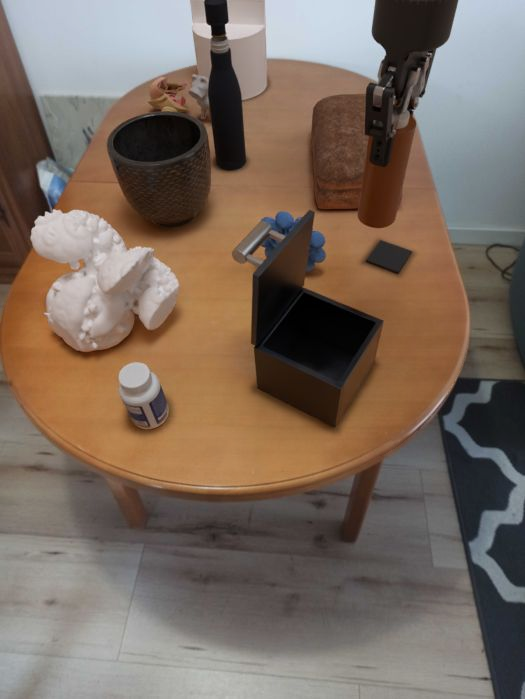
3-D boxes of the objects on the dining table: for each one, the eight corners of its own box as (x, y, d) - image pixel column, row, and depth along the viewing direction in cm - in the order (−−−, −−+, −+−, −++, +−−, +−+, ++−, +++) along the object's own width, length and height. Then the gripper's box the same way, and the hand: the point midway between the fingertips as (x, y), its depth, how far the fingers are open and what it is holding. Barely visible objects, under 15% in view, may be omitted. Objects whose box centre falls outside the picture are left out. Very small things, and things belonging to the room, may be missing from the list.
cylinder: (208, 67, 136) (193, -64, 113) (272, 70, 133) (269, -63, 111) (192, 99, 125) (172, -38, 103) (261, 103, 123) (255, -37, 101)
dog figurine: (188, 125, 118) (180, 78, 110) (222, 102, 124) (217, 55, 116) (205, 132, 116) (199, 84, 108) (239, 107, 122) (235, 61, 114)
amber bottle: (401, 211, 67) (424, 108, 56) (386, 232, 65) (408, 129, 54) (366, 199, 69) (382, 97, 58) (351, 220, 67) (364, 118, 55)
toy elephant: (191, 124, 119) (159, 104, 112) (165, 134, 126) (133, 116, 119) (197, 87, 120) (165, 65, 113) (170, 99, 127) (138, 79, 119)
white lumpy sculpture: (-16, 308, 72) (51, 186, 72) (75, 332, 91) (129, 236, 90) (75, 373, 66) (150, 240, 65) (153, 385, 85) (211, 282, 84)
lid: (315, 211, 60) (273, 193, 62) (258, 276, 54) (214, 254, 56) (303, 285, 71) (268, 268, 73) (255, 346, 65) (218, 326, 67)
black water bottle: (246, 169, 106) (234, 6, 82) (215, 171, 106) (195, 8, 83) (246, 152, 110) (234, -8, 86) (216, 154, 110) (197, -6, 87)
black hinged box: (374, 363, 75) (384, 320, 67) (335, 428, 69) (341, 389, 61) (300, 330, 79) (301, 286, 72) (257, 388, 73) (253, 347, 65)
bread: (313, 213, 97) (316, 159, 88) (309, 131, 114) (311, 79, 105) (403, 212, 96) (415, 158, 87) (385, 129, 114) (394, 77, 104)
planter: (176, 255, 91) (158, 177, 78) (110, 221, 98) (84, 144, 85) (235, 206, 99) (228, 128, 86) (171, 177, 106) (155, 101, 93)
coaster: (411, 253, 89) (412, 251, 89) (398, 274, 86) (398, 271, 86) (380, 242, 91) (380, 239, 91) (365, 262, 88) (366, 259, 88)
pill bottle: (162, 391, 73) (148, 351, 66) (174, 420, 70) (160, 382, 63) (126, 406, 72) (107, 366, 64) (137, 436, 69) (118, 398, 61)
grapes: (253, 284, 86) (249, 227, 76) (260, 257, 90) (257, 200, 80) (321, 290, 84) (326, 234, 75) (326, 263, 88) (330, 206, 79)
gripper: (431, 17, 41) (395, 194, 55) (484, -38, 48) (440, 130, 62) (347, 2, 44) (332, 174, 57) (409, -49, 51) (383, 115, 64)
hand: (388, 151), depth 59 cm, fingers closed on amber bottle, 5 cm apart
